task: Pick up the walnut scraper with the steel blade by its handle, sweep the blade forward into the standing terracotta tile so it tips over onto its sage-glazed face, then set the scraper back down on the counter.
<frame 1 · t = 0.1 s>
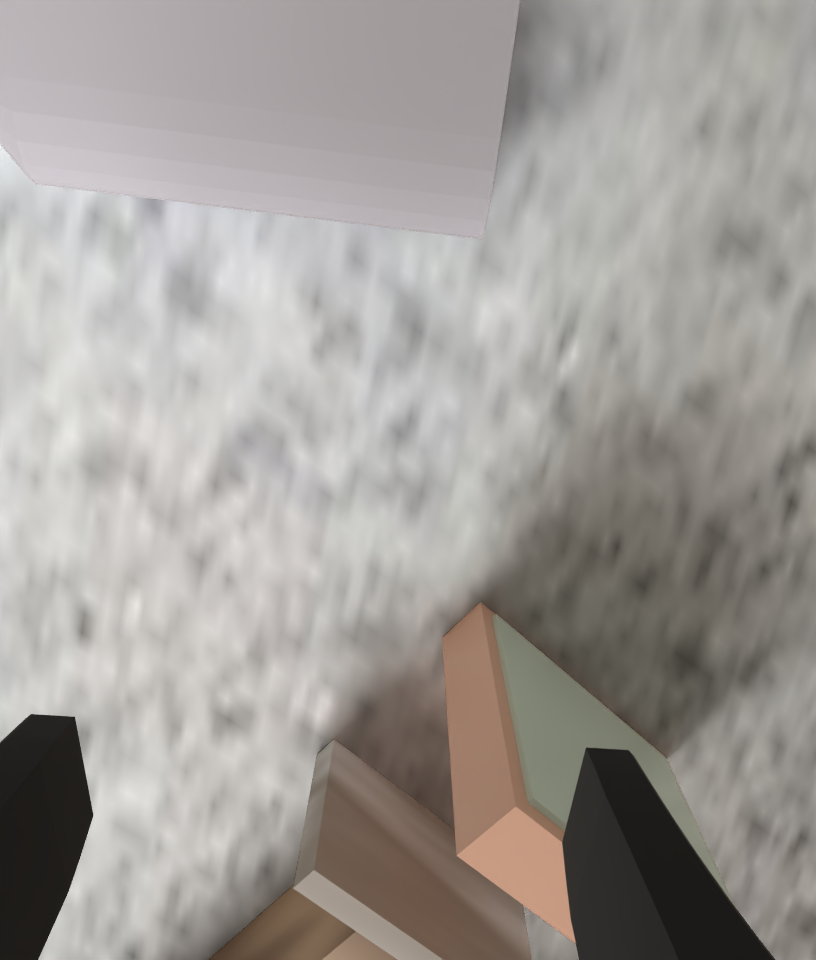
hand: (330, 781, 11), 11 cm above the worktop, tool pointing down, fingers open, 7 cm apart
tile: (557, 700, 23), on the worktop
scraper: (299, 920, 26), on the worktop
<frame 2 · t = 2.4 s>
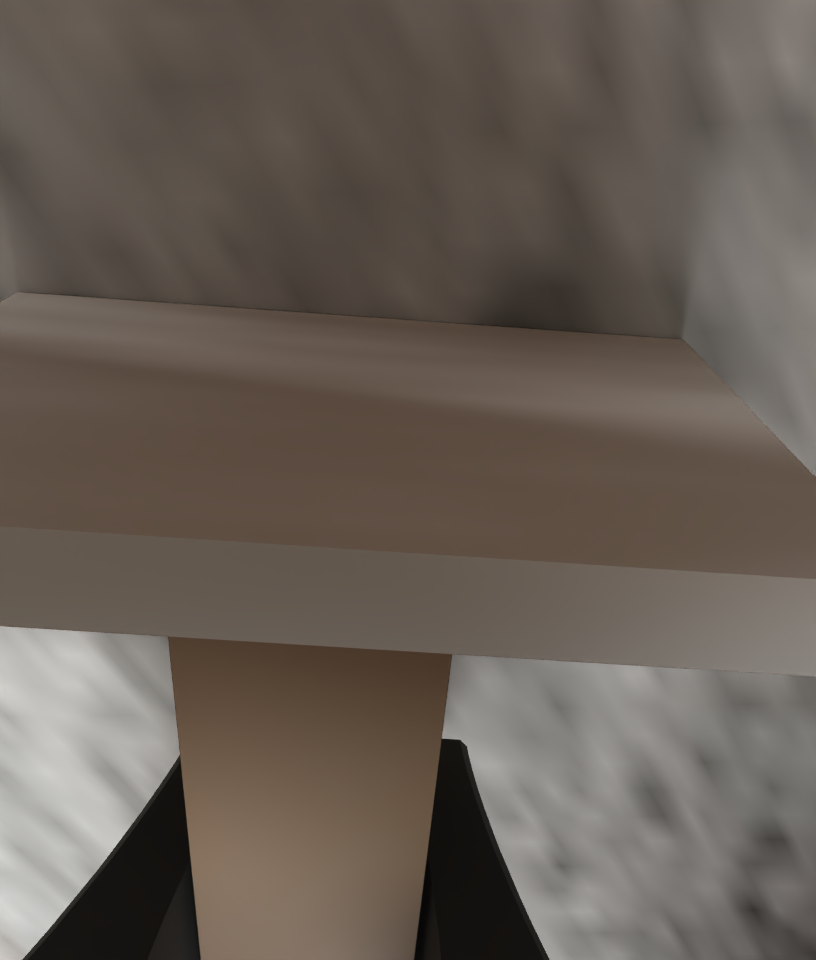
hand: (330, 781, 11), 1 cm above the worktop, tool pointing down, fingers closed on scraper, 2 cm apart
scraper: (339, 708, 12), on the worktop, touching gripper
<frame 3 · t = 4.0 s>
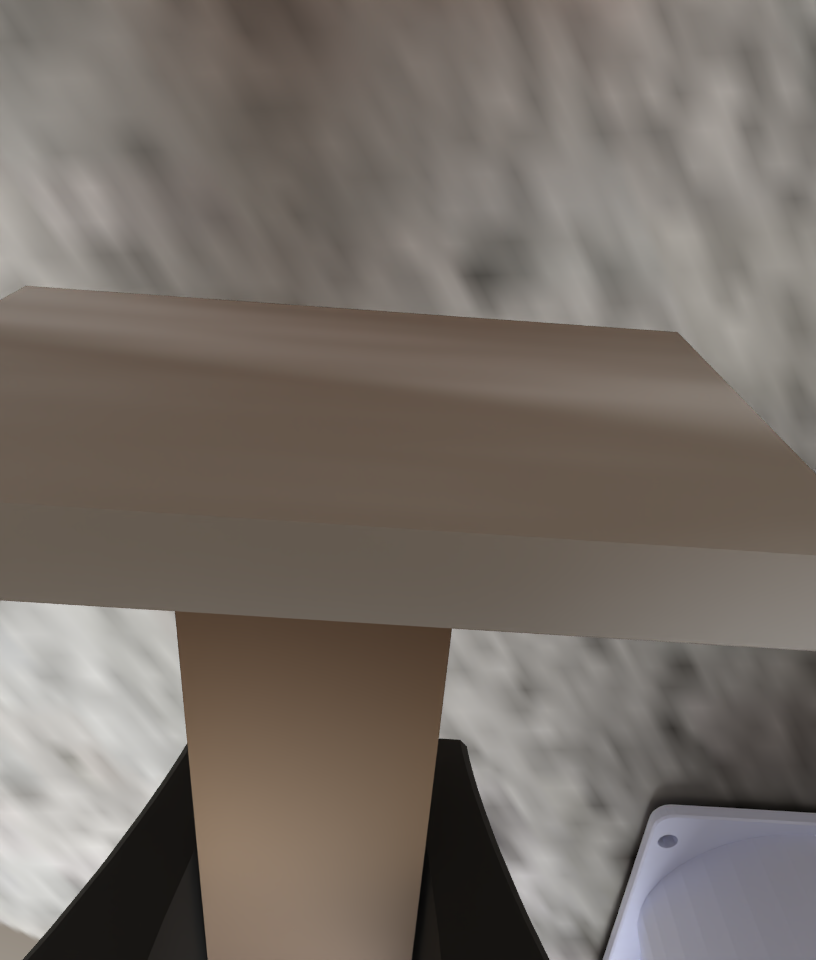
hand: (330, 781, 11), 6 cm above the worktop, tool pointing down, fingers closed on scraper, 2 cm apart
scraper: (340, 697, 12), point 5 cm above the worktop, touching gripper
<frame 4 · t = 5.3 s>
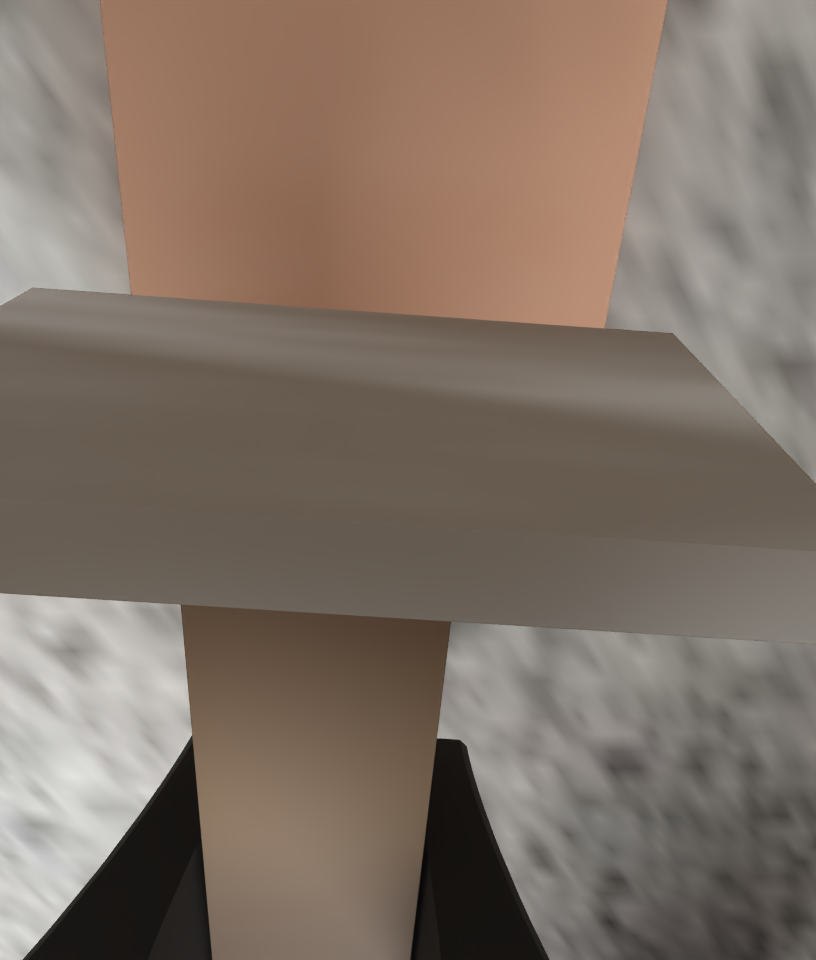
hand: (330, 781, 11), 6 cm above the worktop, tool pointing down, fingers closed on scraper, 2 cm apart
tile: (369, 352, 14), on the worktop, tilted 90°
scraper: (341, 693, 13), point 5 cm above the worktop, touching gripper
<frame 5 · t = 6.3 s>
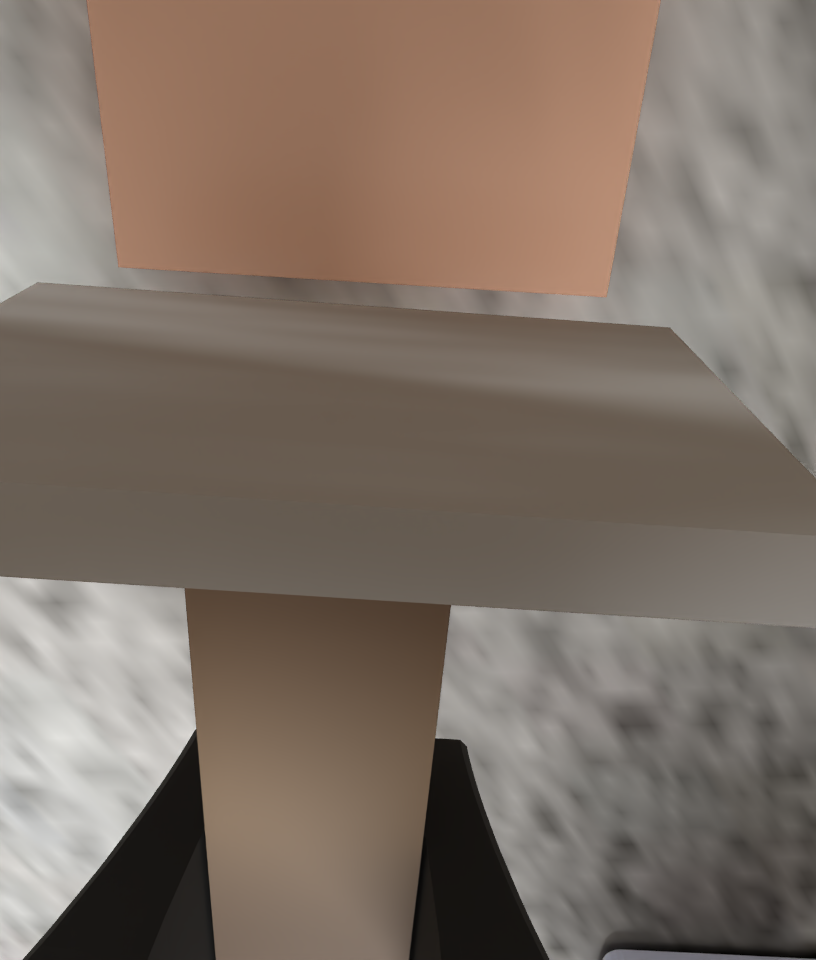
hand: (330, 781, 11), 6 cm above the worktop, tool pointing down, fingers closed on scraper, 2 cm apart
tile: (366, 270, 13), point 1 cm above the worktop, tilted 90°
scraper: (342, 686, 13), point 4 cm above the worktop, touching gripper
when the fingers open (2 cm above the worktop, at t = 7.8 s): scraper stays where it is, on the worktop.
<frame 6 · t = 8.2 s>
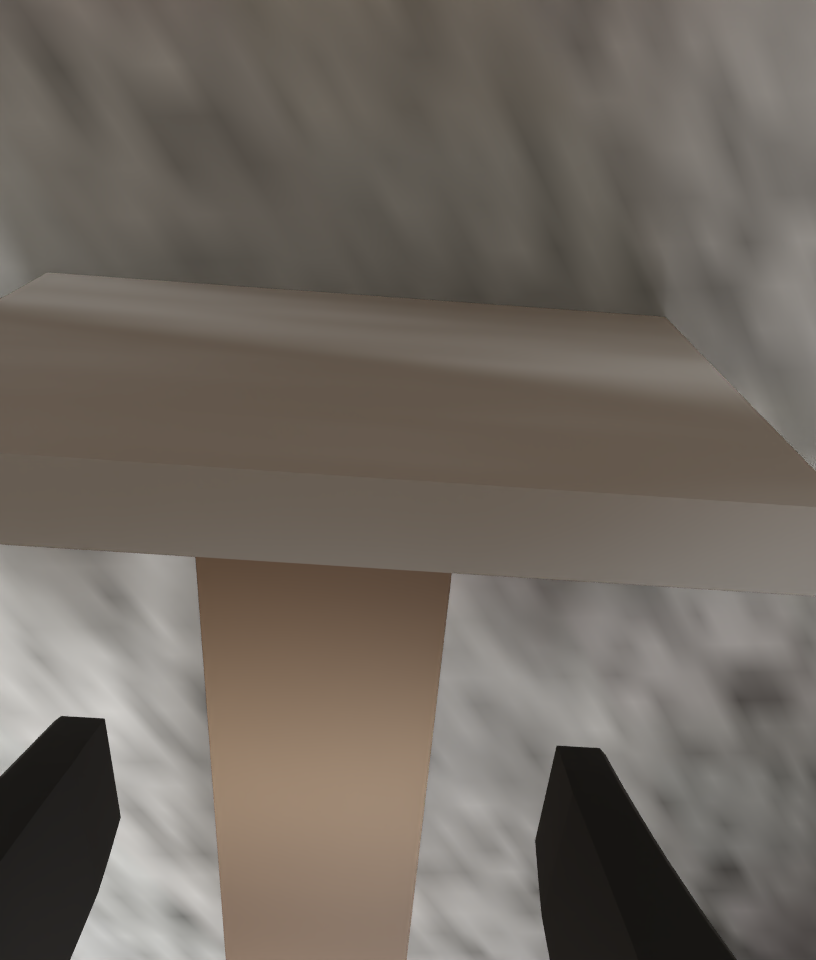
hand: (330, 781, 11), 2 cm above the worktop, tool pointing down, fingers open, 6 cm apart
scraper: (344, 667, 13), on the worktop
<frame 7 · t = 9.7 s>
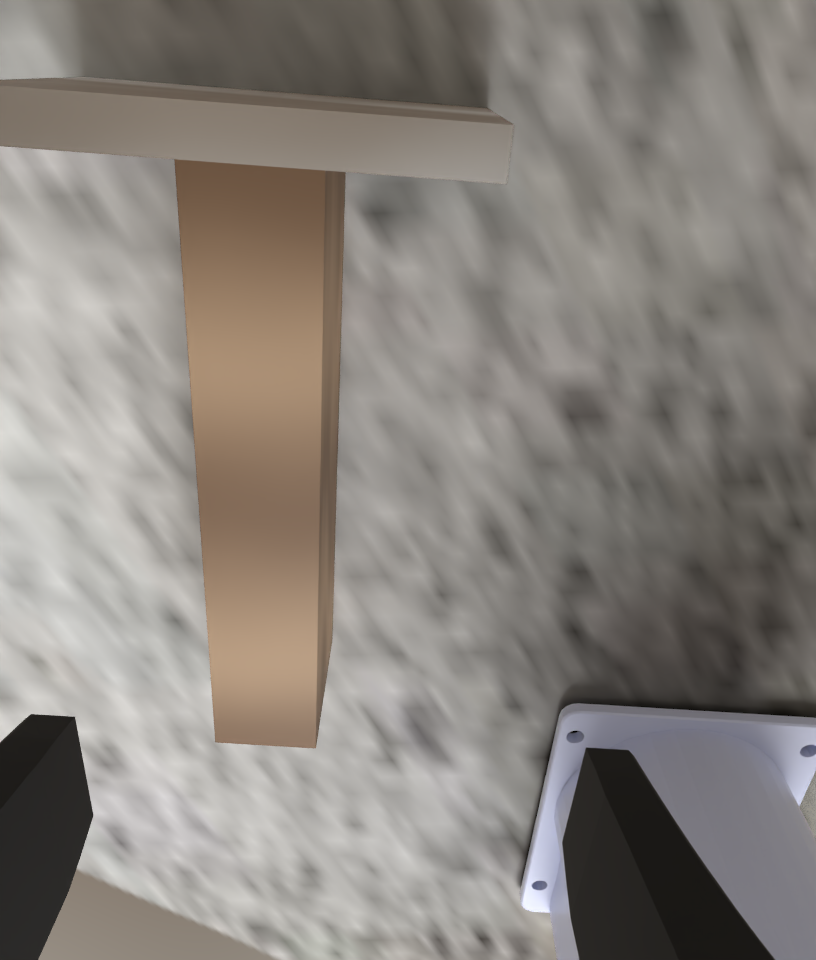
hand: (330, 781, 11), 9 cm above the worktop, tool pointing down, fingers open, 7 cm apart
scraper: (289, 391, 18), on the worktop
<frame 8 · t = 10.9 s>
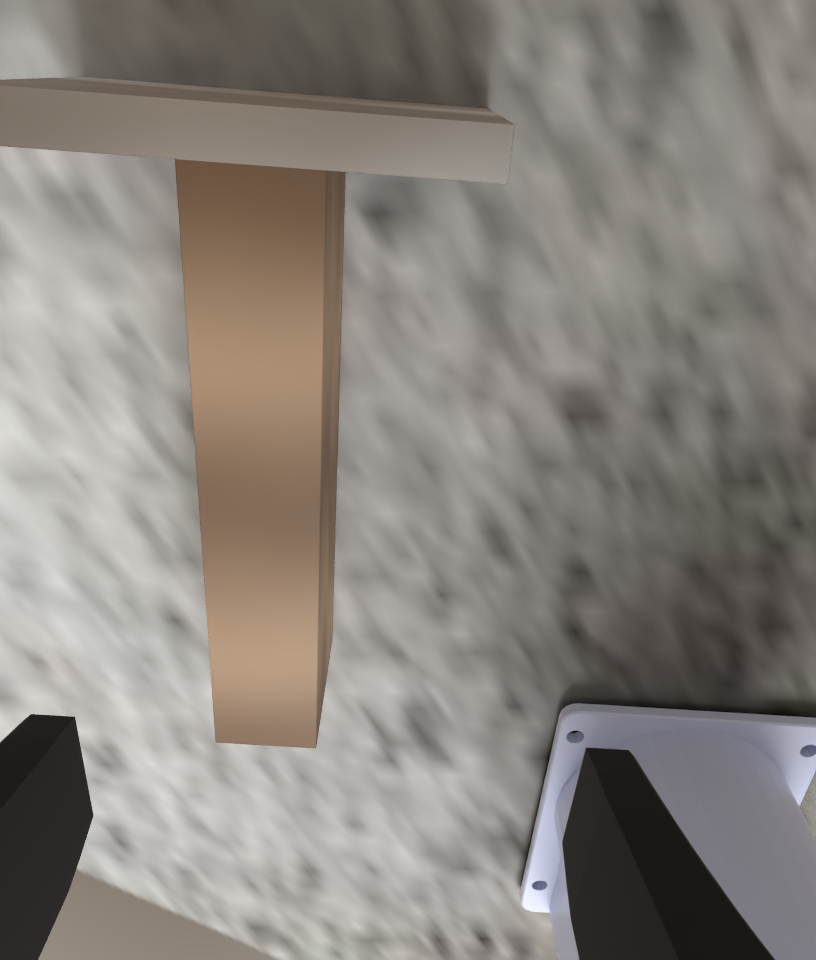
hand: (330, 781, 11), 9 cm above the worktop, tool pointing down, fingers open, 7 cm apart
scraper: (289, 391, 18), on the worktop
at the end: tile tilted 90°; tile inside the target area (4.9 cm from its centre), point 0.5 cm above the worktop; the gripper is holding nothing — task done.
